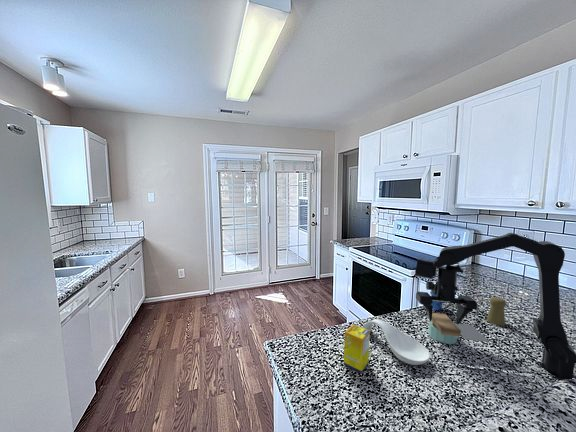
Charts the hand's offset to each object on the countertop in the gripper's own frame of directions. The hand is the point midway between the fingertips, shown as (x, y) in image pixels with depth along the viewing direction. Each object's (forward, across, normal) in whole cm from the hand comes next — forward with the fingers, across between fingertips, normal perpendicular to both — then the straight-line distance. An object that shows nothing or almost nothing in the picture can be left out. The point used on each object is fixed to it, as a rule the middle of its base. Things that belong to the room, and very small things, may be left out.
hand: (443, 322), depth 90 cm
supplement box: (+6, +33, +22) cm, 40 cm away
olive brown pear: (+6, -27, -17) cm, 33 cm away
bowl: (+6, 0, 0) cm, 6 cm away
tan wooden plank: (+2, 0, 0) cm, 2 cm away
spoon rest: (+7, +20, +11) cm, 24 cm away
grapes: (+6, -7, -23) cm, 25 cm away
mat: (+6, -12, -6) cm, 14 cm away
